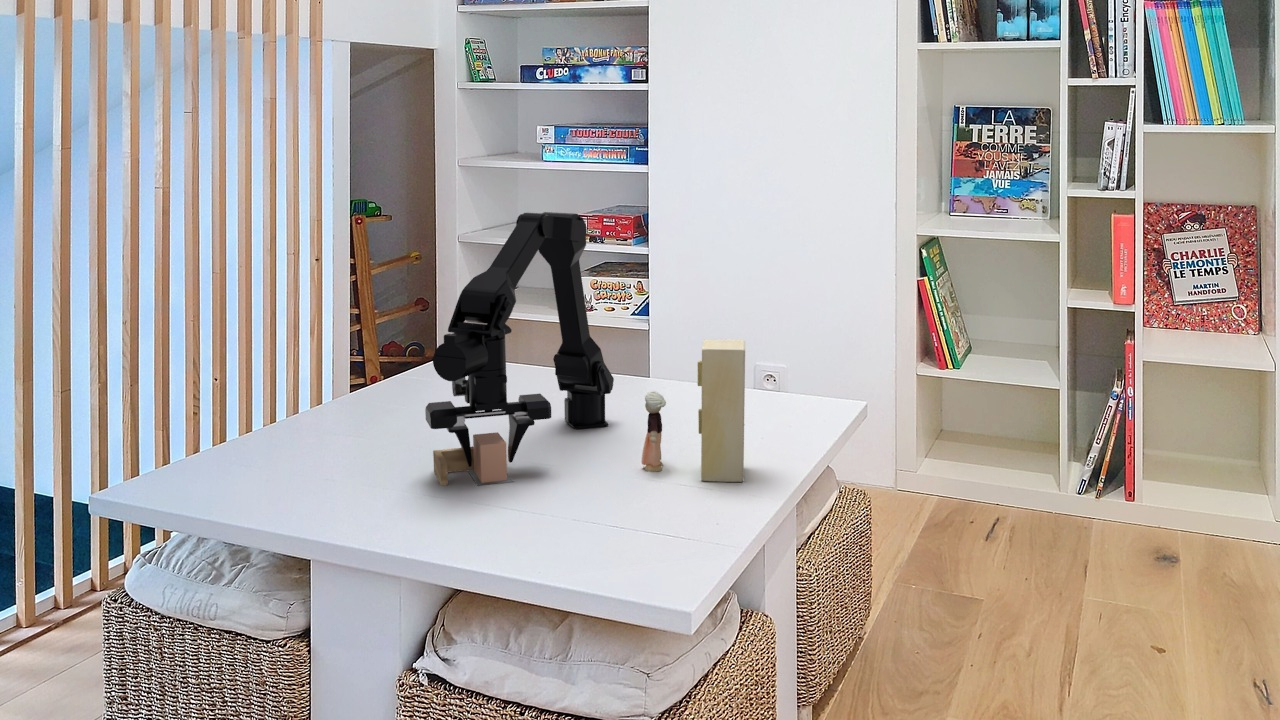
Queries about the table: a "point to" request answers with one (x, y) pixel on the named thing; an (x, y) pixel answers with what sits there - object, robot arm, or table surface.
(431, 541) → the table surface
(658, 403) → the grandmother figurine
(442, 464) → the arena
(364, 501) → the table surface
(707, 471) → the toy refrigerator
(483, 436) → the terracotta block
